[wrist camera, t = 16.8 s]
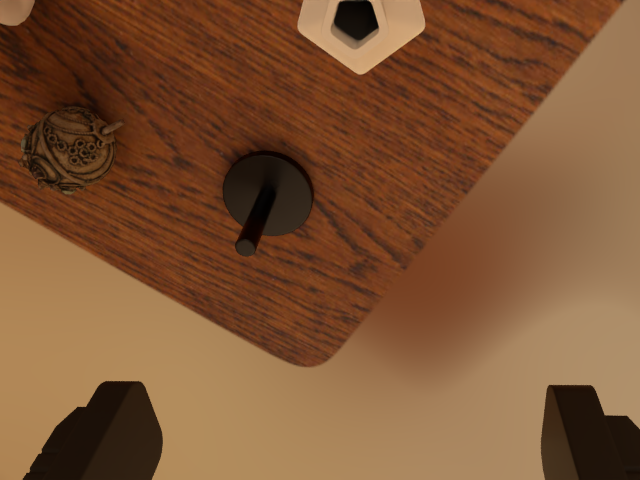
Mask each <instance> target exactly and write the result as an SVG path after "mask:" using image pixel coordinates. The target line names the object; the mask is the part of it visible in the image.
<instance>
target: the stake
mask: <svg viewBox="0 0 640 480" xmlns="http://www.w3.org/2000/svg"><path fill="white" fill-rule="evenodd" d="M223 198H224V202H225V205H226V207H227V209H228V211H229V213H230V214H231V216H232V217H233V218H234V219H235V220H236V221H237V222H238V223H239V224H240V225H241V226H243V229H242V231H241V233H240V235H239V237H238V239H237V242H236V244H235V248H236V251H237V252H238V253H239V254H240V255H242V256H251V255H253V254H254V253H255V251H256V248H257V246H258V243H259V241H260V238H261V236H262V235H267V236H278V235H284V234H287V233H290V232H292V231H294V230H296V229H297V228H298V227H300V226H301V225H302V224H303V223H304V222H305V220H306V219H307V218H308V216H309V214H310V211H311V208H312V204H313V198H314V192H313V186H312V183H311V180H310V178H309V176H308V174H307V173H306V171H305V170H304V169H303V168H302V167H301V166H300V165H299V164H298V163H297V162H296V161H295V160H293V159H292V158H290V157H288V156H286V155H284V154H281V153H278V152H274V151H256V152H252V153H249V154H246V155H244V156H243V157H241V158H239V159H238V160H237V161H236V162H235V163H234V164H233V165H232V167H231V168H230V169H229V171H228V173H227V175H226V177H225V180H224V183H223Z"/></svg>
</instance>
